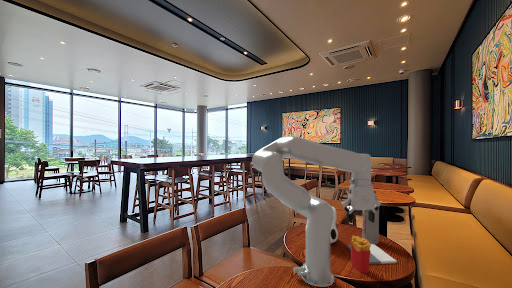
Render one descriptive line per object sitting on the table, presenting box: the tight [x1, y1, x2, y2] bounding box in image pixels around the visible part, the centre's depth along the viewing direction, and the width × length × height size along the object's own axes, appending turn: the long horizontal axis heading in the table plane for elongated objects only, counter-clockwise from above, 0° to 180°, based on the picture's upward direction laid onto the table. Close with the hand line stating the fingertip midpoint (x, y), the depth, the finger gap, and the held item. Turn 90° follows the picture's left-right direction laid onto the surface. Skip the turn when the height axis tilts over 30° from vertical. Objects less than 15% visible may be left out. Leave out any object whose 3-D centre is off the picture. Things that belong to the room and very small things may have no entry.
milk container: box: [305, 205, 339, 245], centre depth 118 cm, size 17×17×18 cm
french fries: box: [350, 235, 371, 274], centre depth 91 cm, size 9×4×13 cm, turn 21°
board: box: [346, 244, 397, 265], centre depth 103 cm, size 15×16×1 cm
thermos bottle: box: [361, 190, 380, 245], centre depth 118 cm, size 8×8×28 cm
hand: (360, 221), depth 91 cm, fingers open, 9 cm apart
